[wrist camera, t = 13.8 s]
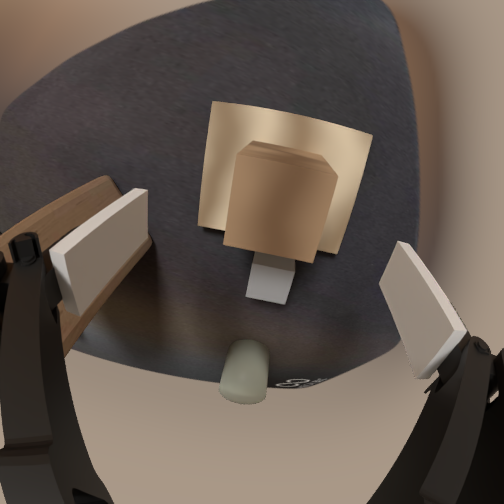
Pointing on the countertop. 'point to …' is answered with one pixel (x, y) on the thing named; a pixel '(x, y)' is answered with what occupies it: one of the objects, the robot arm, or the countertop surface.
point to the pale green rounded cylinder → (245, 372)
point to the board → (289, 135)
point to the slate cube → (270, 277)
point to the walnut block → (279, 201)
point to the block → (62, 221)
